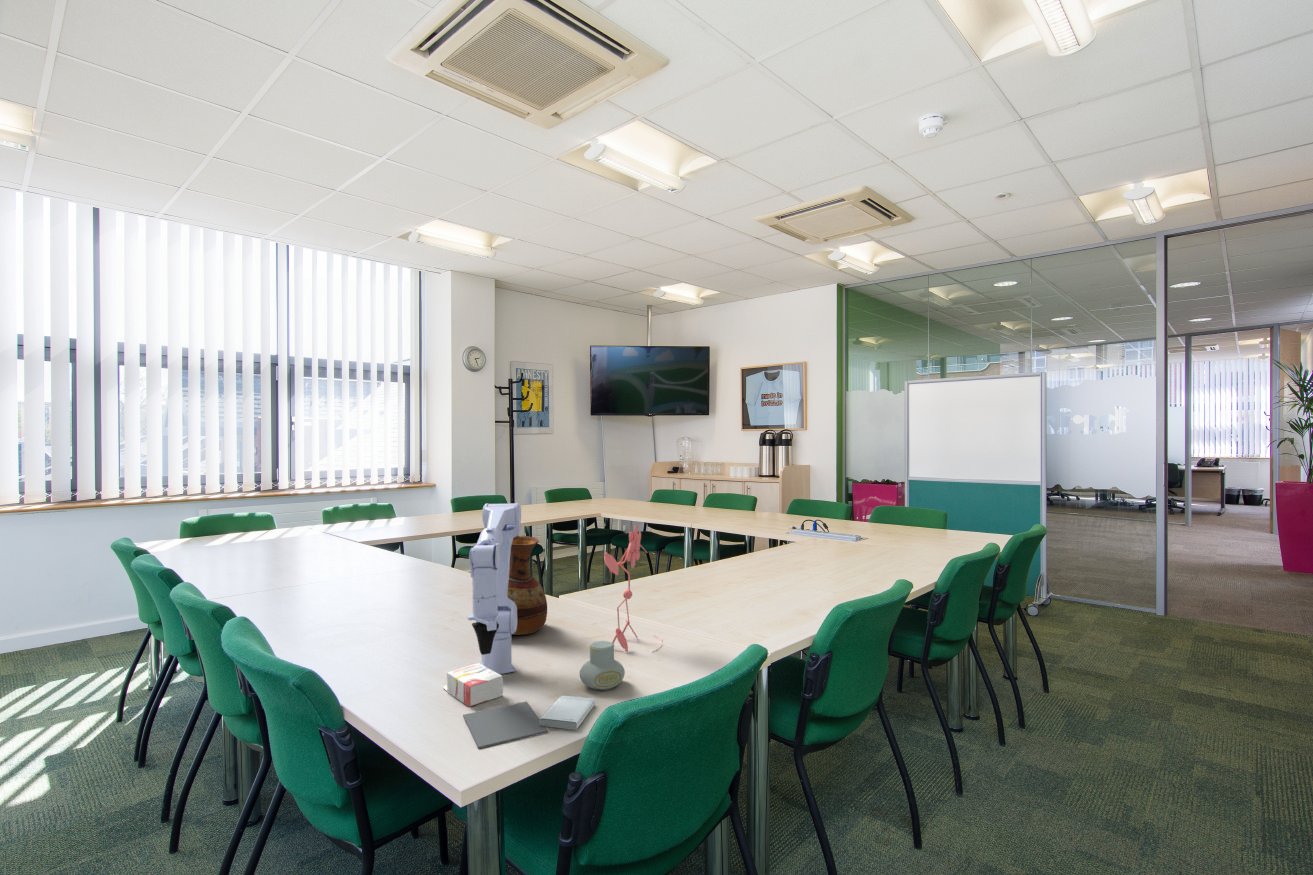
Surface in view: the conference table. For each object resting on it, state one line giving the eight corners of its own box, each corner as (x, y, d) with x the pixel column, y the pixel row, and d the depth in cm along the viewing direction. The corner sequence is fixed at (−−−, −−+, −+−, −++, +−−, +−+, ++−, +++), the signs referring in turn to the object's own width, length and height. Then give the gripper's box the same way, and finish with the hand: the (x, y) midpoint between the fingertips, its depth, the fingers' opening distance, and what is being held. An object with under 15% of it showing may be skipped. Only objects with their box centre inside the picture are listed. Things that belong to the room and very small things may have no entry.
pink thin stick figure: (596, 658, 166) (597, 530, 166) (624, 630, 191) (626, 519, 191) (650, 664, 162) (652, 533, 162) (672, 635, 187) (673, 521, 187)
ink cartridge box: (469, 685, 136) (440, 668, 147) (469, 707, 136) (440, 689, 147) (503, 674, 142) (472, 659, 153) (503, 695, 142) (473, 678, 153)
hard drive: (577, 722, 124) (594, 697, 136) (539, 717, 126) (560, 694, 138) (576, 730, 124) (594, 705, 136) (539, 725, 126) (560, 701, 138)
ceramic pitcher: (502, 645, 178) (501, 543, 179) (472, 630, 193) (472, 536, 194) (559, 631, 191) (558, 536, 191) (527, 618, 206) (526, 529, 207)
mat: (463, 716, 131) (463, 714, 131) (526, 702, 138) (526, 701, 138) (478, 748, 117) (478, 746, 117) (548, 732, 124) (548, 730, 124)
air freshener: (585, 695, 142) (585, 652, 142) (575, 683, 149) (575, 642, 149) (629, 687, 146) (629, 646, 146) (617, 676, 154) (617, 636, 154)
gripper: (462, 591, 148) (462, 647, 148) (473, 604, 136) (474, 665, 135) (491, 587, 152) (491, 642, 152) (505, 600, 139) (506, 660, 139)
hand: (485, 653), depth 144 cm, fingers closed
